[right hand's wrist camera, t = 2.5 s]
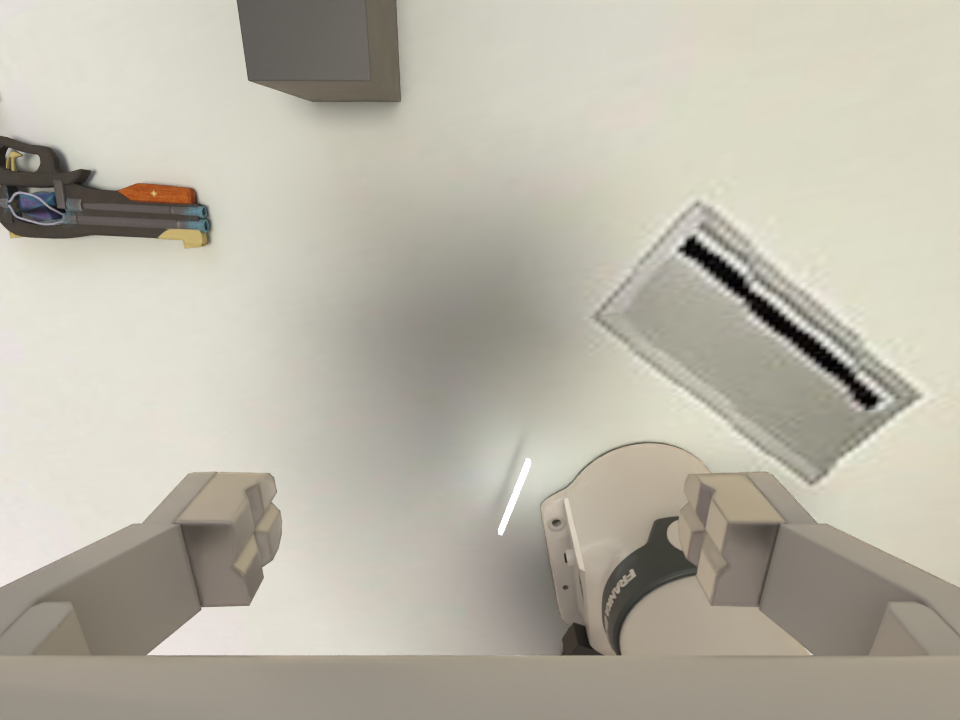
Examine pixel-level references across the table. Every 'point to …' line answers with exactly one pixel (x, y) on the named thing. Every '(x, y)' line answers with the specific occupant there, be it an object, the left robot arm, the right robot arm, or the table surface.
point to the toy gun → (92, 204)
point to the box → (323, 48)
